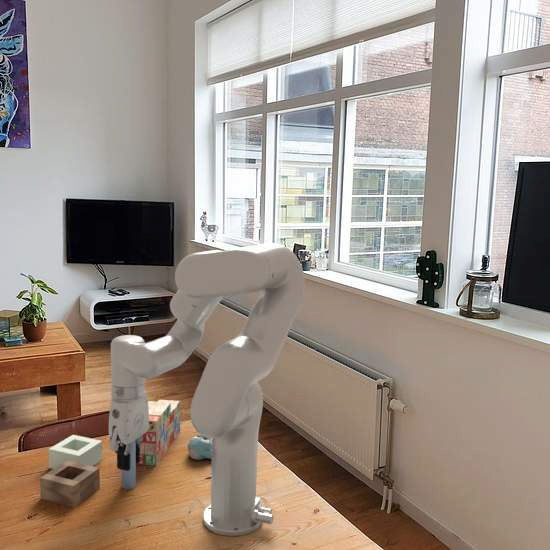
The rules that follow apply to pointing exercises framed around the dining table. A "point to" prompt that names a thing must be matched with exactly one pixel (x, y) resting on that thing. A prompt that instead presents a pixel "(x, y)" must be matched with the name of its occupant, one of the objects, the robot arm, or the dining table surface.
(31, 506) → the dining table surface
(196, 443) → the teal cartoon creature figurine
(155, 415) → the stack of blocks
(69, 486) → the brown wooden square ring
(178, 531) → the dining table surface
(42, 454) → the dining table surface
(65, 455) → the white square hollow block
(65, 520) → the dining table surface
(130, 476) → the light blue rod
